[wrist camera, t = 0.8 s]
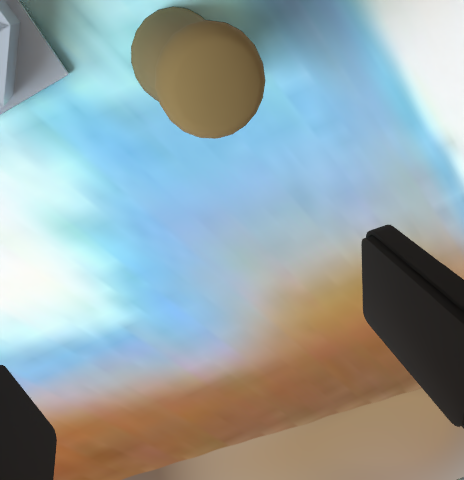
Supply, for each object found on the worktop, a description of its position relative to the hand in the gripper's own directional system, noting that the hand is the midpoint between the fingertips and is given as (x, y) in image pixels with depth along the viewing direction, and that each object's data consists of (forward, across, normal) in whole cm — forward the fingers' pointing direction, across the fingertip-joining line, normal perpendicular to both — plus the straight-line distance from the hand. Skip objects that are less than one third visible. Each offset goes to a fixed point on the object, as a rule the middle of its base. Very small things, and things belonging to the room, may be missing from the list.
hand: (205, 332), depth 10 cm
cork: (+22, -4, -3) cm, 22 cm away
